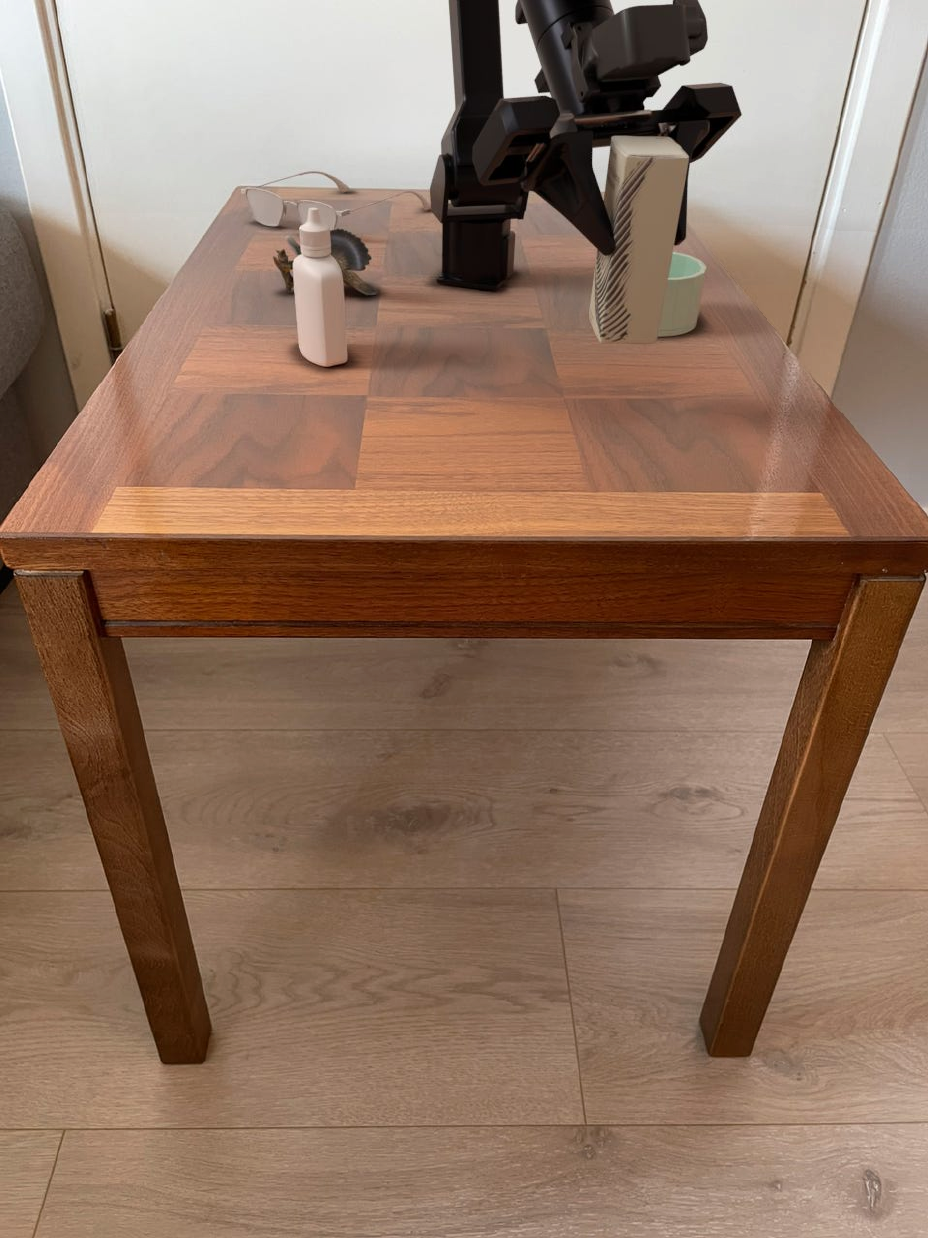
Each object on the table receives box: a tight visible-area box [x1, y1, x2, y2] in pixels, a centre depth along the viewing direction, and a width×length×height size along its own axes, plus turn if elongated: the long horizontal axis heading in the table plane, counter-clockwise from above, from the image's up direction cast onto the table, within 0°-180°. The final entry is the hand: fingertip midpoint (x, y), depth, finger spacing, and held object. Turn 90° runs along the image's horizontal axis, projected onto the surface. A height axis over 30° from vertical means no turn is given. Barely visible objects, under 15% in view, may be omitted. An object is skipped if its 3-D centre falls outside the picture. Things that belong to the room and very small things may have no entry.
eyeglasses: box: [240, 170, 431, 230], centre depth 116 cm, size 15×18×4 cm
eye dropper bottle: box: [292, 208, 349, 368], centre depth 80 cm, size 4×6×12 cm
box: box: [588, 136, 689, 345], centre depth 68 cm, size 5×4×13 cm
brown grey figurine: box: [272, 228, 378, 296], centre depth 94 cm, size 8×7×9 cm
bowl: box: [658, 251, 708, 338], centre depth 90 cm, size 9×9×5 cm
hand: (645, 247), depth 67 cm, fingers closed on box, 5 cm apart
